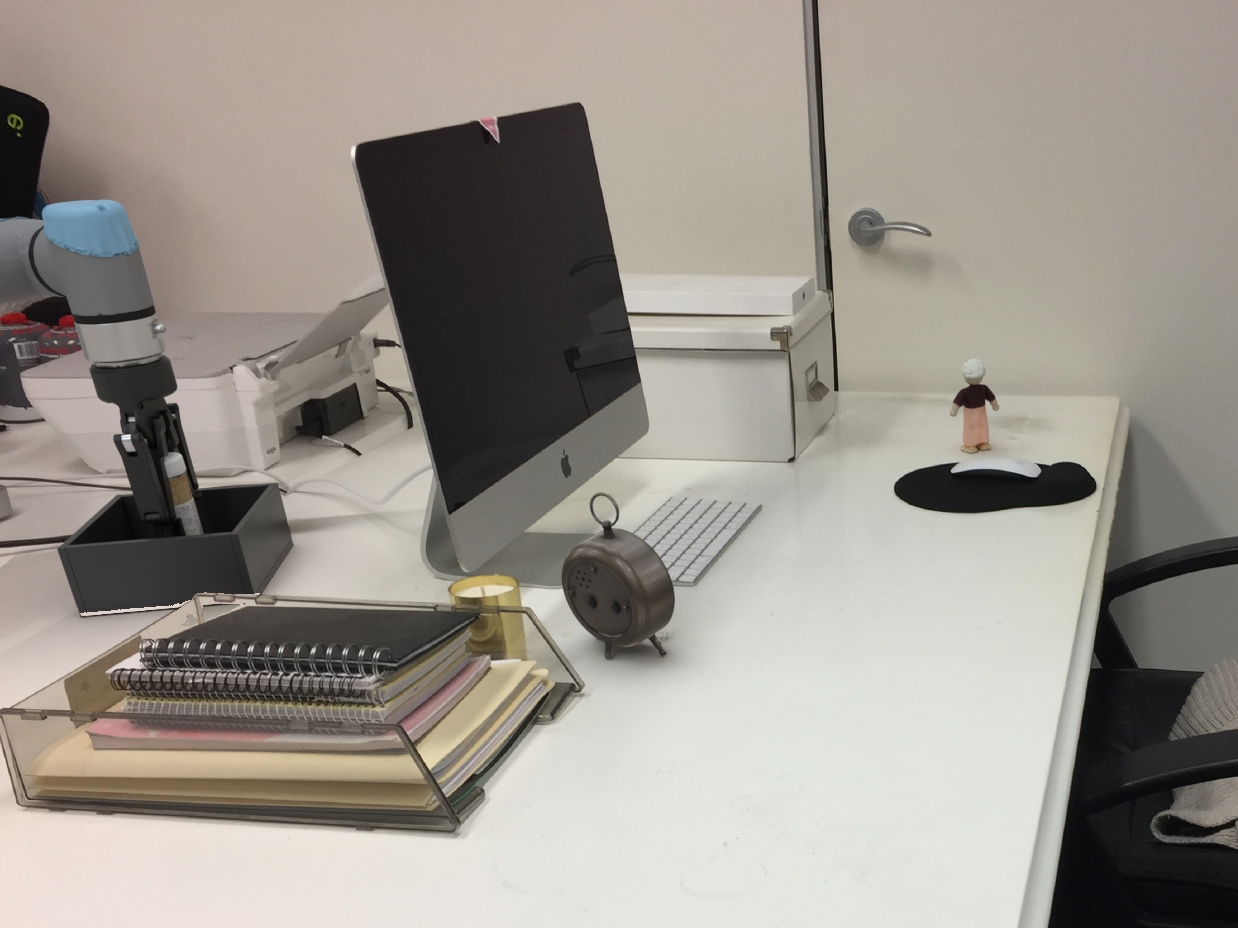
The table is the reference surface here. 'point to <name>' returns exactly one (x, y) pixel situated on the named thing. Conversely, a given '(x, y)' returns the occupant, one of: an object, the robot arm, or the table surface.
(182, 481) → the sprinkles bottle
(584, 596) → the alarm clock
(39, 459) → the table surface
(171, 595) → the basket
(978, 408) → the grandmother figurine
